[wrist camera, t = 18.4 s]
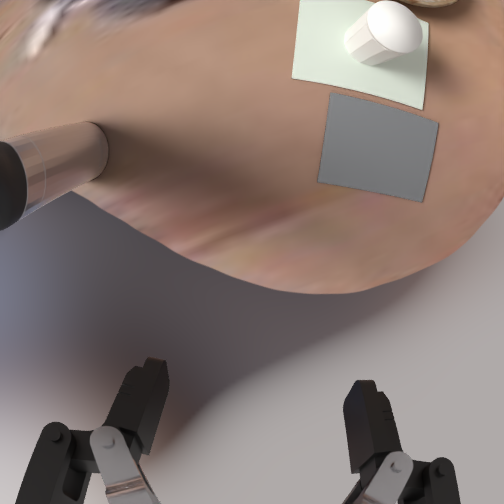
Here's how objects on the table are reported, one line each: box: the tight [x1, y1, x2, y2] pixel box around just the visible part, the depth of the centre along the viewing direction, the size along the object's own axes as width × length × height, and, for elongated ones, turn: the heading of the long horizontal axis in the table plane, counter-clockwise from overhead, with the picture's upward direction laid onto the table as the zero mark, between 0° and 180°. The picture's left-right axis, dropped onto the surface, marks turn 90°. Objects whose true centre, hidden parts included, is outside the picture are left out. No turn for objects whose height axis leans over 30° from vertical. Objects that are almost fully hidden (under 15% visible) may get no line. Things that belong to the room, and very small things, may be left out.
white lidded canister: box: [344, 1, 423, 66], centre depth 23 cm, size 6×6×10 cm
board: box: [292, 0, 428, 110], centre depth 27 cm, size 18×14×1 cm
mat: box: [317, 93, 438, 202], centre depth 34 cm, size 16×12×1 cm
